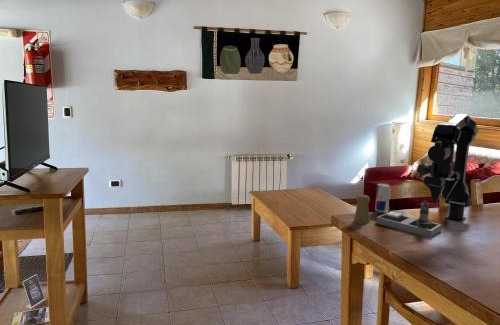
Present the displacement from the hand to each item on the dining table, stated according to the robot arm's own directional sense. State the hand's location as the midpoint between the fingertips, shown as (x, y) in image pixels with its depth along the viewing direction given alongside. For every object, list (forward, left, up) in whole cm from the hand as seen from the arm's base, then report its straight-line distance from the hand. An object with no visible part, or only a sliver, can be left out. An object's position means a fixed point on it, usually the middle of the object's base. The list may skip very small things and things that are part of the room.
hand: (439, 200), depth 150 cm
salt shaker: (0, -5, -13) cm, 14 cm away
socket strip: (0, -11, -13) cm, 17 cm away
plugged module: (0, -16, -13) cm, 21 cm away
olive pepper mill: (+7, -27, -13) cm, 31 cm away
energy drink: (-12, -28, -13) cm, 33 cm away
